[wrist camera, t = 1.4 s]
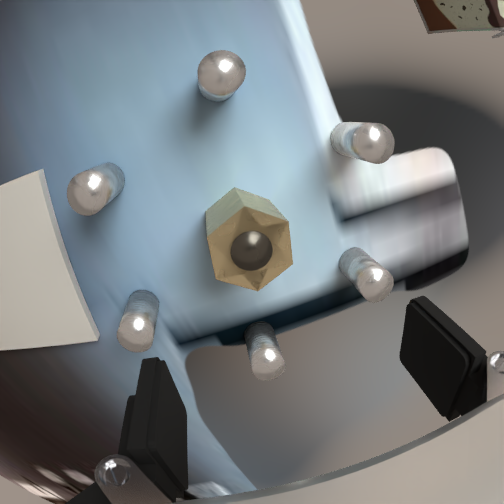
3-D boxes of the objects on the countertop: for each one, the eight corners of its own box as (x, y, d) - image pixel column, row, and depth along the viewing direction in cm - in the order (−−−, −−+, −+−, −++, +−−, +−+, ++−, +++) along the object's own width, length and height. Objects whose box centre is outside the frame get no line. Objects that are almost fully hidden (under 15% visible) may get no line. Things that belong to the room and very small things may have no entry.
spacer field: (75, 101, 19) (47, 97, 15) (351, 57, 21) (382, 46, 16) (152, 363, 29) (148, 399, 24) (364, 318, 31) (386, 347, 26)
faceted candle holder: (202, 193, 24) (201, 214, 18) (266, 181, 24) (286, 199, 19) (215, 261, 26) (220, 299, 20) (275, 249, 26) (295, 284, 21)
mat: (-54, 211, 19) (-60, 214, 19) (43, 168, 21) (37, 170, 20) (1, 345, 26) (-2, 350, 25) (99, 334, 27) (97, 340, 26)
